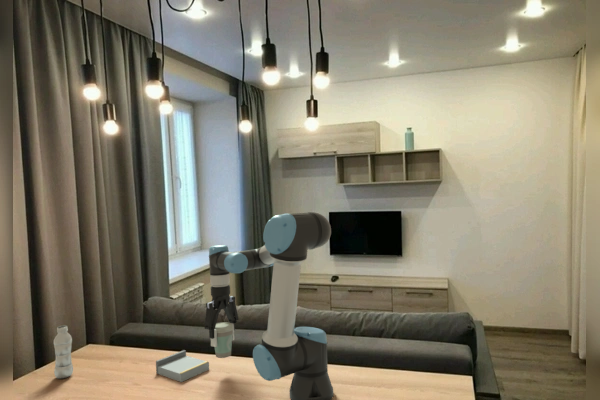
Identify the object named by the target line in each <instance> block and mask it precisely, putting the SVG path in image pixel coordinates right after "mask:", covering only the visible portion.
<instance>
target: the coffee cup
mask: <svg viewBox="0 0 600 400" xmlns="http://www.w3.org/2000/svg"><path fill="white" fill-rule="evenodd" d="M215 329H216V330H217V347H214V352H215V357H216V358H219V359H225V358H228V357H231V356H232V344H233V343H232V342H233V340H232V330H233V326H232V324H231V323H230V322H229V321H228V322H227V321H226V322H225V321H224V322H217V323H216V326H215Z"/></svg>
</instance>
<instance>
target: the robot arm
mask: <svg viewBox="0 0 600 400" xmlns="http://www.w3.org/2000/svg"><path fill="white" fill-rule="evenodd" d="M331 227H332V226H331V224H330V221H329V220H328V218H326V217H325V216H324V215H323V214H321V213H318V212H315V211H314V212H313V211H311V212H310V211H309V212H308V211H307V212H297V213H282V214H277V215H273V216H272V217H271V218H270V219H269V220H268V221H267V222H266V224H265V226H264V230H263V235H262V236H263V237H262V238H263V243H264V245H263V246H261V247H259V248H255V249H249V250H248V249H247V250H241V251H239V250H238V251H229V247H228V245H227V244H226V245H225V244H221V245H220V244H219V245H211V246H210V247H209V249H208V252H209V253H208V263H209V264H208V265H209V276H210V277H209V280H210V297H212V299H211V301H210V302H205V309H206V310H205V311H206V312H205V317H204V319H205V320H204V329H205V330H208V333H209V335H208V336H209V339H210V347H217V330H216V329H215V326H216V323H218V322H217V321H218V318H219V315H220V313H221V310H224V313H225V316H226V318H227V320H228V323H231V324H232V326H233V330H232V341H235V331H236V328H235V327H236V325H235V324H236V323H238V320H239V316H238V315H239V314H238V310H237V305H236V296H233V295H231V285H230V284H231V278H230V274H241V273H243V272H244V271H251V270H255V269H256V270H257V269H263V268H264V269H266V268H269V267H272V277H271V288H270V298H269V299H270V300H269V307H268V308H269V309H268V310H269V311H268V318H267V329H266V330H265V331H263V333H262V335H261V342H260V344H257V345H256V346H254V348H253V350H252V360H253V361H252V362H253V365H254V367H255V369H256V371H257V373H258V375H259V376H261V378H262V379H264V381H265V380H266V381H268V382H272V381H275V380H280V379H281V378H285V377H286V376H290V375H293V376H292V380H291V382H290V387H289V398H291V400H332V399H333V398H334V387H333V384H332V381H331V378H330V376H329V372H328V371H329V369H328V342H327V341H328V340H327V333H326V332H325V330H323V329H321V328H317V327H312V326H297V327H295V325H296V315H297V305H298V295H299V287H300V276H301V268H302V263H304V262H305V261H306V260H307V257H308V250H309V251H311V250H314V249H317V248H321V247H323V246H325V245H326V244H327V243H328V242H329V240H330V238H331V235H332V228H331ZM332 397H333V398H332Z"/></svg>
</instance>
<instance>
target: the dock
mask: <svg viewBox="0 0 600 400" xmlns="http://www.w3.org/2000/svg"><path fill="white" fill-rule="evenodd" d="M155 370H156V374H157V375H160V376H162V377H166V378H169V379H171V380H174V381H177V382H180V383H182V382H185V381H186V380H188V379H191V378H193V377H196V376H198V375H200V374H202V373H205V372H207V371H209V370H210V362H209V361H208V360H203V359H199V358H197V357H192V356H188V355H187V350H185V349H182V350H181V351H178V352H176V353H173V354H170V355H169V356H165V357H162V358H160V359H157V360H156V361H155Z"/></svg>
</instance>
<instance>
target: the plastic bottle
mask: <svg viewBox="0 0 600 400" xmlns="http://www.w3.org/2000/svg"><path fill="white" fill-rule="evenodd" d="M68 331H69V328H68V325H59V326H57V327H56V333H57V334H56V335H55V336H54V339H53V347H54V353H55V361H54V362H55V366H54V371H53V372H54V377H55V378H56V379H59V380H61V379H66V378H69V377H70V376H72V375H73V374H74V373H73V372H74V365H73V362H72V360H73V359H72V344H73V337H72V335H71V334H70V333H69V332H68Z"/></svg>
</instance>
